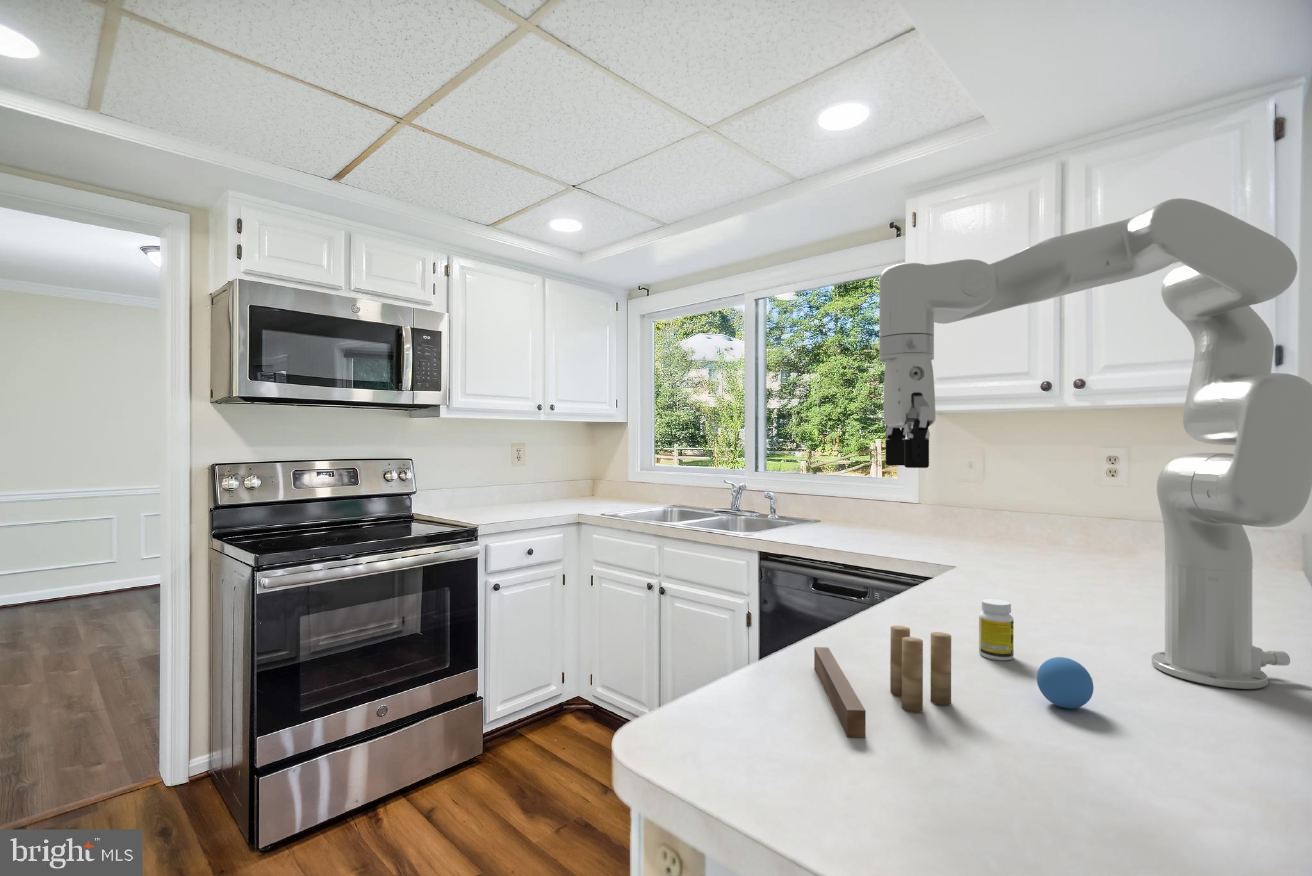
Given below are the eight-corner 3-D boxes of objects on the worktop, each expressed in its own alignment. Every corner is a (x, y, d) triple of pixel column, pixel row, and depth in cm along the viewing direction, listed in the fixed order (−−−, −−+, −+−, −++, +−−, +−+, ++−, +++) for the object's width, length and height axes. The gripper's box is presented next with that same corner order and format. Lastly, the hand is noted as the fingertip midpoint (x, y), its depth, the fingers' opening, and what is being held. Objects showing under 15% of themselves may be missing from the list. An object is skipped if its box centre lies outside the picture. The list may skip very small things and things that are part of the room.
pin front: (946, 698, 82) (947, 632, 82) (954, 706, 80) (954, 638, 80) (927, 697, 82) (927, 631, 82) (934, 705, 80) (934, 637, 80)
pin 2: (919, 705, 80) (919, 637, 80) (925, 713, 78) (925, 643, 78) (899, 704, 80) (899, 636, 80) (905, 712, 78) (905, 642, 78)
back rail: (828, 668, 93) (828, 647, 93) (865, 737, 71) (865, 710, 71) (814, 667, 93) (814, 647, 93) (847, 736, 71) (847, 709, 71)
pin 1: (906, 689, 85) (906, 625, 85) (912, 696, 83) (912, 631, 83) (888, 689, 85) (888, 625, 85) (893, 696, 83) (893, 630, 83)
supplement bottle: (1018, 662, 96) (1018, 606, 96) (984, 660, 97) (984, 604, 97) (1007, 652, 101) (1007, 598, 101) (975, 650, 102) (975, 597, 102)
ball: (1075, 697, 83) (1075, 651, 83) (1104, 717, 77) (1104, 667, 77) (1027, 696, 83) (1027, 649, 83) (1052, 715, 77) (1052, 666, 77)
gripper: (954, 340, 85) (954, 469, 85) (914, 358, 102) (913, 464, 102) (896, 341, 86) (896, 468, 86) (866, 358, 103) (865, 464, 103)
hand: (906, 466), depth 94 cm, fingers open, 9 cm apart
